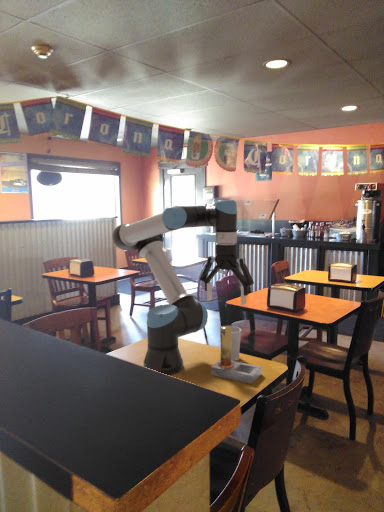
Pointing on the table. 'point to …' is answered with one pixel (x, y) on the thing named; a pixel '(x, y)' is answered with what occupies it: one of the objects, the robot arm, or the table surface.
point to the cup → (235, 343)
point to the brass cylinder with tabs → (225, 345)
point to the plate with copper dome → (237, 371)
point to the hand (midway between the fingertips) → (226, 302)
